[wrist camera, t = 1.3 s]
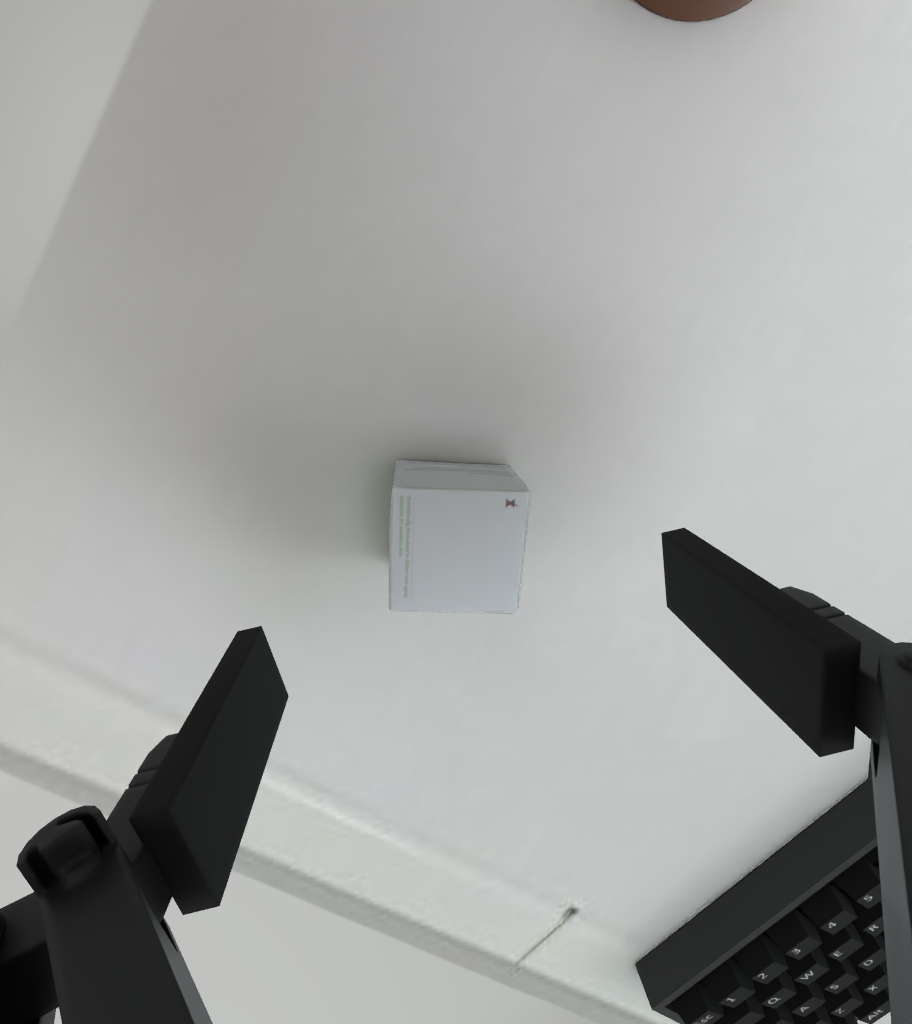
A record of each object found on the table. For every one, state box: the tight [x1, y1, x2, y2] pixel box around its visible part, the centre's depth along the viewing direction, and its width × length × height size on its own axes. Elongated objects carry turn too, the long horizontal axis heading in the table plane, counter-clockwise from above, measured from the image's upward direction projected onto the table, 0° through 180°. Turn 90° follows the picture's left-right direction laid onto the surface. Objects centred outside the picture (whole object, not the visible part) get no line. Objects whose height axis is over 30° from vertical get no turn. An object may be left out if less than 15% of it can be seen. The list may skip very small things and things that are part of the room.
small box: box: [389, 460, 530, 614], centre depth 23 cm, size 6×6×5 cm
